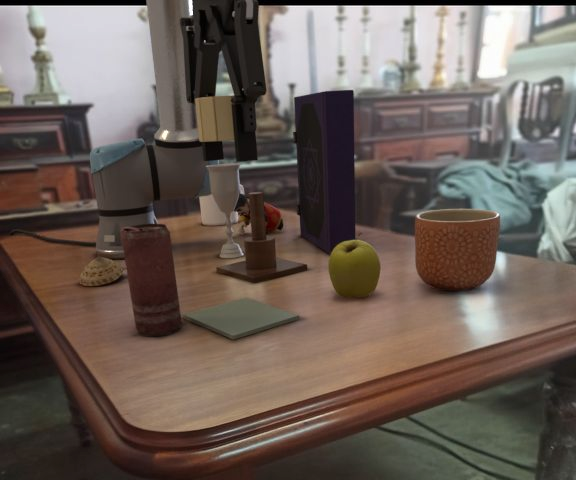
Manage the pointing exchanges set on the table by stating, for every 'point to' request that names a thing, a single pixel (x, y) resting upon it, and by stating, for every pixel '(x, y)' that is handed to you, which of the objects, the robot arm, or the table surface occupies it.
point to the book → (326, 167)
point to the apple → (354, 268)
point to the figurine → (271, 215)
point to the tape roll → (215, 118)
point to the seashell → (100, 272)
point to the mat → (240, 317)
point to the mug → (215, 211)
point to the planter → (456, 247)
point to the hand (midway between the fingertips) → (229, 160)
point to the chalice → (226, 200)
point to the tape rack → (260, 251)
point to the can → (151, 278)
